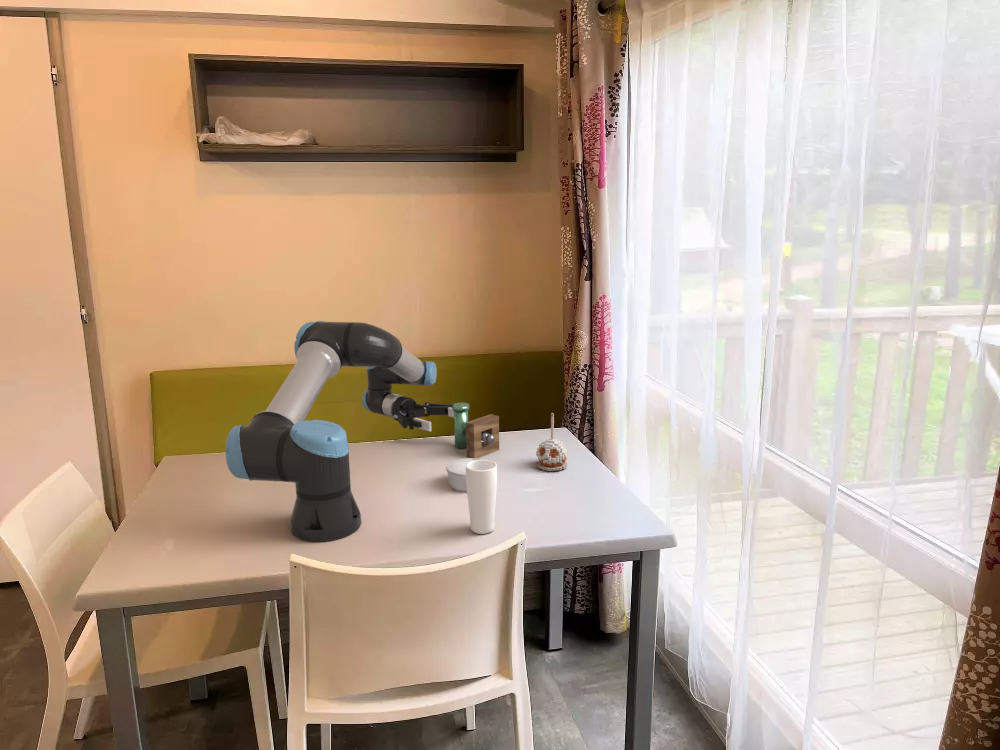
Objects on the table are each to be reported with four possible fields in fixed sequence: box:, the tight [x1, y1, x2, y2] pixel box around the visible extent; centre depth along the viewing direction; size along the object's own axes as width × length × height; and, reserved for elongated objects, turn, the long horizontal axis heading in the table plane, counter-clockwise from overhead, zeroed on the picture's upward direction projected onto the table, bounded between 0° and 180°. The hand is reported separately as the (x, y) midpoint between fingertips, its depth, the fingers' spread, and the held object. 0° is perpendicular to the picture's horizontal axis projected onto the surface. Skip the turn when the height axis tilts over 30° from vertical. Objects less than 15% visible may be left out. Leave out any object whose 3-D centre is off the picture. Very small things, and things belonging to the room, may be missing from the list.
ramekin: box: [445, 457, 482, 493], centre depth 183 cm, size 11×11×5 cm
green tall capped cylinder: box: [451, 402, 495, 449], centre depth 206 cm, size 15×5×12 cm, turn 47°
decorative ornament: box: [535, 412, 569, 472], centre depth 193 cm, size 8×8×15 cm
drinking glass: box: [466, 459, 498, 535], centre depth 158 cm, size 7×7×15 cm
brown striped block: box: [466, 413, 500, 459], centre depth 204 cm, size 3×10×10 cm, turn 137°
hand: (447, 421), depth 214 cm, fingers open, 13 cm apart
